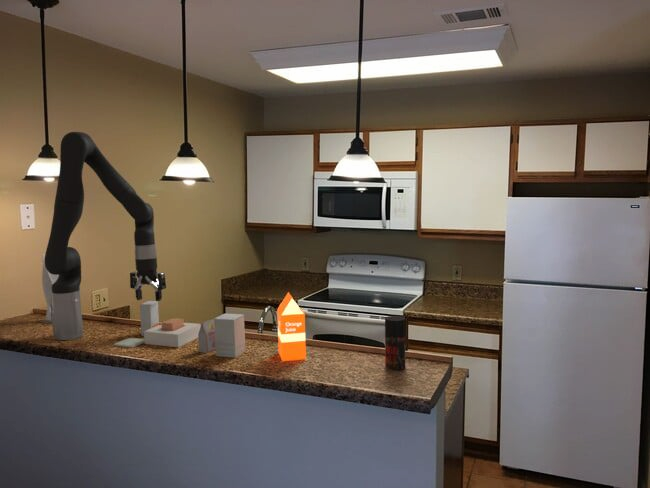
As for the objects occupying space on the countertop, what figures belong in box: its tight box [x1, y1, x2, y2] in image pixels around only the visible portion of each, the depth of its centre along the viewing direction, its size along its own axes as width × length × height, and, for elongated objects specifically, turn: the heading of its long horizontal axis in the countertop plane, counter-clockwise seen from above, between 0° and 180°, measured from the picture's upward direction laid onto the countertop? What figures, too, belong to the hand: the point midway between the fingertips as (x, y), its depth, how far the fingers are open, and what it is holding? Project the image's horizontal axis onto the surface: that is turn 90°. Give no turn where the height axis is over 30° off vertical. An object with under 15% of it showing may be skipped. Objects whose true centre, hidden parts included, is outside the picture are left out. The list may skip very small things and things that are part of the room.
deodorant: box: [384, 315, 406, 372], centre depth 160 cm, size 6×6×15 cm
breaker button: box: [160, 317, 185, 331], centre depth 193 cm, size 5×7×4 cm
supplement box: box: [213, 312, 247, 359], centre depth 176 cm, size 7×7×13 cm
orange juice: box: [276, 291, 307, 362], centre depth 172 cm, size 8×9×20 cm
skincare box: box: [139, 300, 160, 337], centre depth 201 cm, size 6×4×12 cm
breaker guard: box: [143, 322, 201, 348], centre depth 193 cm, size 14×14×4 cm
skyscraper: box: [41, 253, 59, 325], centre depth 223 cm, size 8×8×28 cm
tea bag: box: [197, 318, 216, 354], centre depth 181 cm, size 4×7×10 cm, turn 146°
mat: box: [113, 337, 145, 348], centre depth 190 cm, size 8×8×1 cm
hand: (149, 300), depth 200 cm, fingers open, 8 cm apart
